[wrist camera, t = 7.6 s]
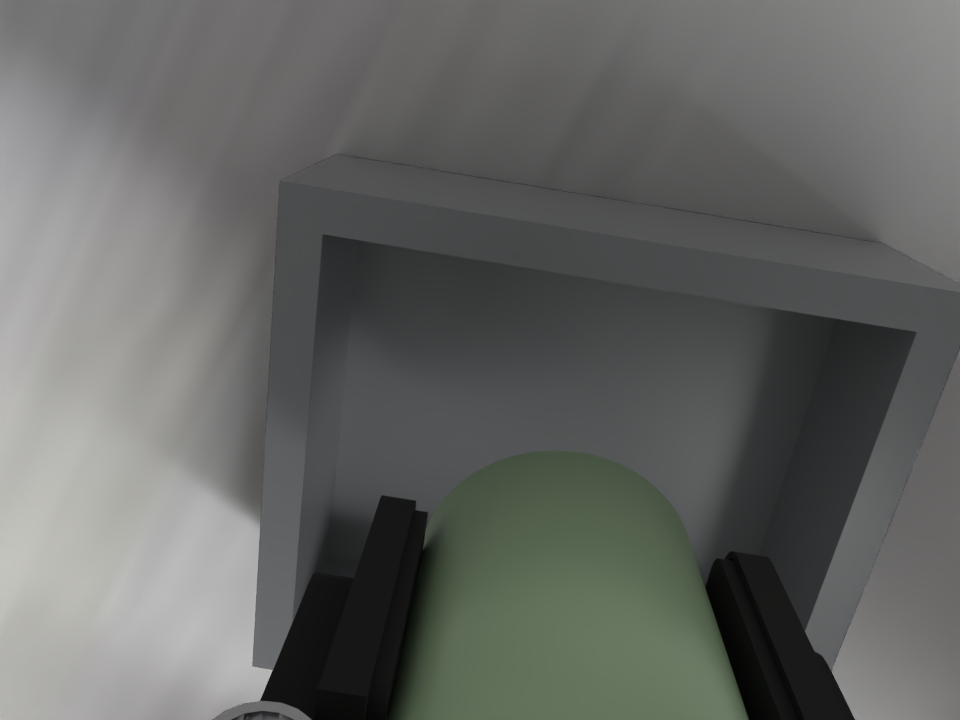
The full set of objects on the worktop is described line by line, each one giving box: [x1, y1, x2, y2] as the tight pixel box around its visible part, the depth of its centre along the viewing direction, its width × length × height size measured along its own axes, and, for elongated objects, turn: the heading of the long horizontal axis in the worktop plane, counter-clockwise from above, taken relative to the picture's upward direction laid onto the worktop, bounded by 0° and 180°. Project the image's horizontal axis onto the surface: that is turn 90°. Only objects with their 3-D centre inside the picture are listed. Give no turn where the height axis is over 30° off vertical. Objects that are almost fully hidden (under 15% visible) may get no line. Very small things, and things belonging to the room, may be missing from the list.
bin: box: [252, 154, 960, 670], centre depth 17 cm, size 12×11×4 cm
